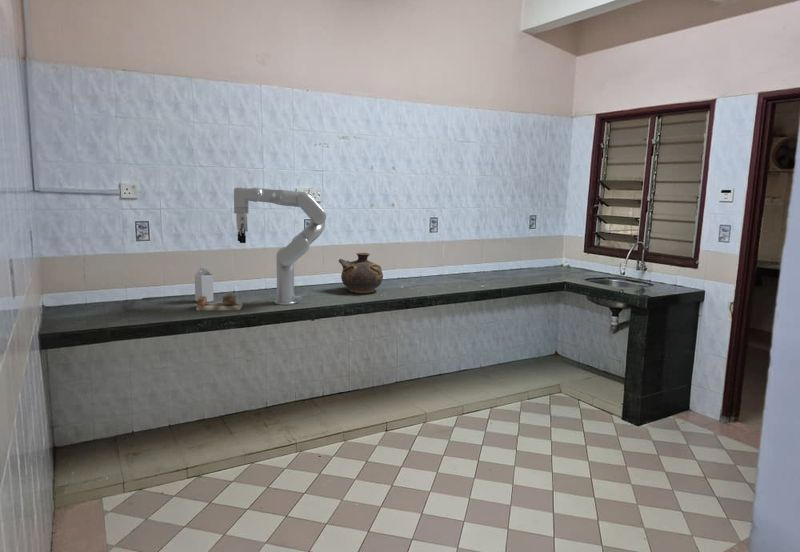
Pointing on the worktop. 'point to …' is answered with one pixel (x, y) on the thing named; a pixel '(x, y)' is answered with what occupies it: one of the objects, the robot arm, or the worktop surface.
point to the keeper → (229, 299)
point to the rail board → (215, 305)
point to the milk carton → (203, 284)
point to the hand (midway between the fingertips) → (241, 242)
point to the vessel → (361, 274)
